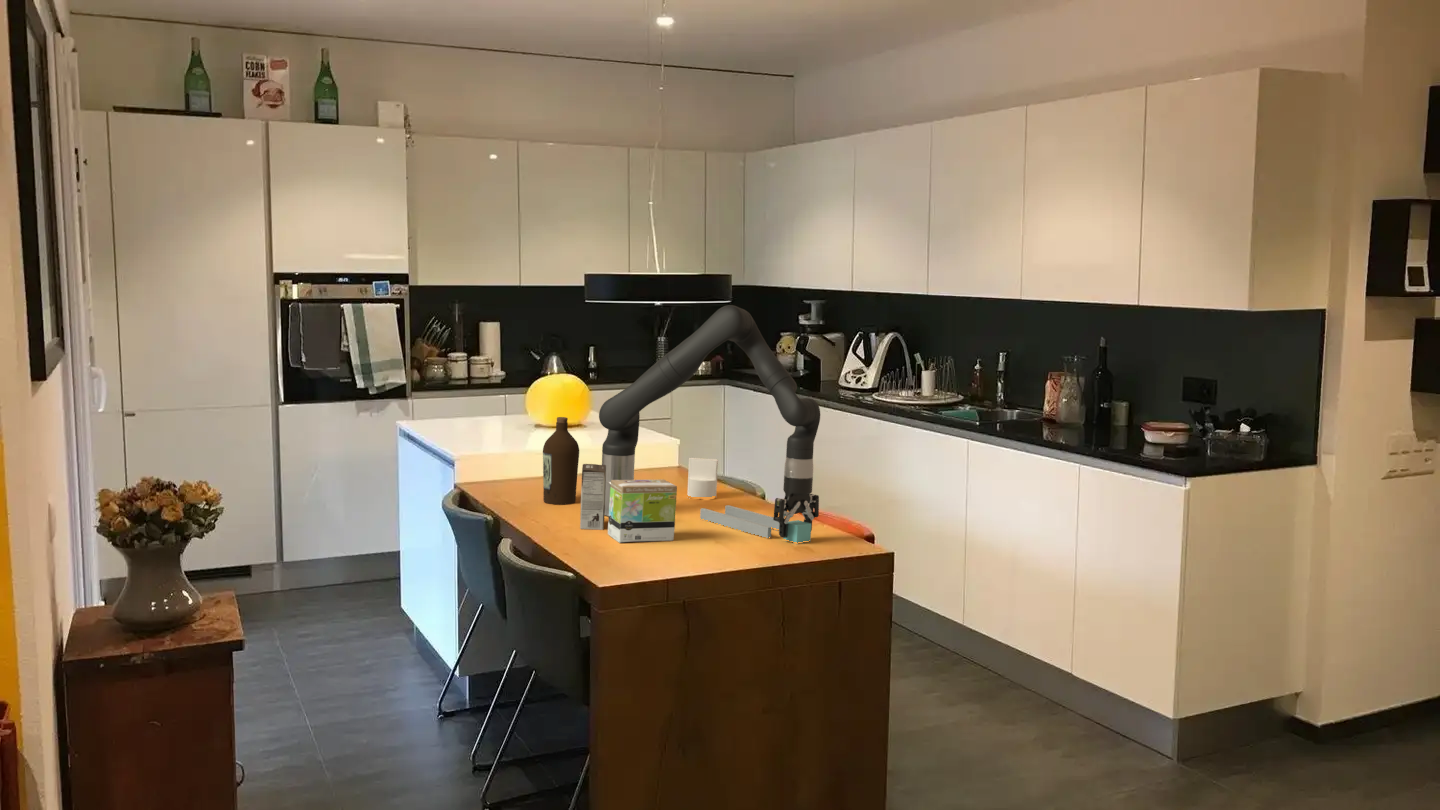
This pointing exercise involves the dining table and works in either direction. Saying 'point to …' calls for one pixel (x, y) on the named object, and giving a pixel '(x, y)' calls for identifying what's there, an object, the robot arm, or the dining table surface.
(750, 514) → the rails
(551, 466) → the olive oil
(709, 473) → the cylinder with rectangular tab
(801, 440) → the robot arm
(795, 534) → the teal block
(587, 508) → the coffee box
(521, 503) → the dining table surface
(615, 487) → the tea box
